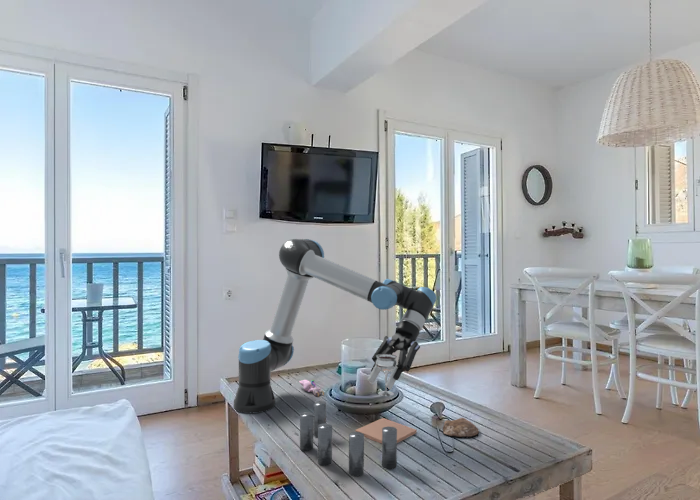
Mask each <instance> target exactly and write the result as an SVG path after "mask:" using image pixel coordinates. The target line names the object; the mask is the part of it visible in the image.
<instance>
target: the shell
mask: <svg viewBox="0 0 700 500" xmlns="http://www.w3.org/2000/svg"><path fill="white" fill-rule="evenodd" d="M479 434H480V430H479V428H478V427H477V426H476V425H475V424H474V423H473V422H471V421H470V420H468V419H466V418H465V417H459V418H457V419H451V420H449V419H446V420H445V421H444V423H443V426H442V435H443V436H445V437H448V438H454V439H455V438H456V439H474V438H476V436H477V437H478V436H479Z"/></svg>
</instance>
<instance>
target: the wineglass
mask: <svg viewBox="0 0 700 500" xmlns="http://www.w3.org/2000/svg"><path fill="white" fill-rule="evenodd" d="M376 357H377V360H376V366H377V368H378V369H379V370H380V372H382V373H383V374H384V382H385V383H384V386H385V387H384V388H385V390H381V391H379V392H378V395H379V396H382V397H391V396H394V395H395V393H394V392H392V391H391V390H388V389H387V386H386V385H385V384H386V382H387V380H388V375H389V374H390V373H392V371H393V369H394V367H396V368H397V366H396V365H398V361H397V360H396V359H397V355H396V354H394V353H393V354H378V355H376Z"/></svg>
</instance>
